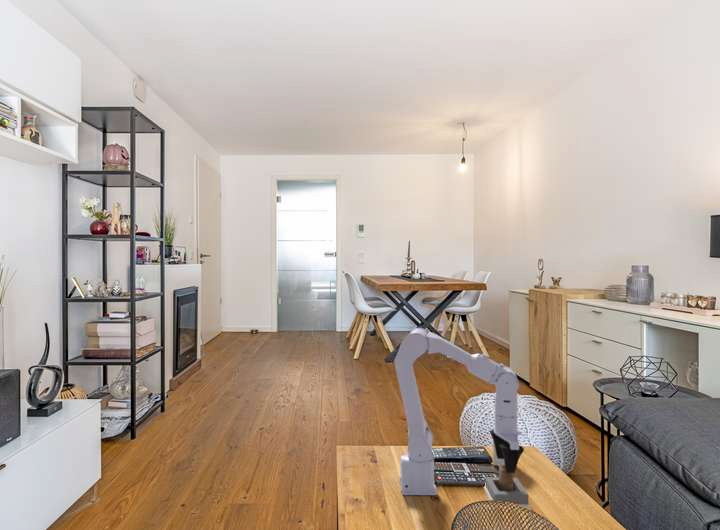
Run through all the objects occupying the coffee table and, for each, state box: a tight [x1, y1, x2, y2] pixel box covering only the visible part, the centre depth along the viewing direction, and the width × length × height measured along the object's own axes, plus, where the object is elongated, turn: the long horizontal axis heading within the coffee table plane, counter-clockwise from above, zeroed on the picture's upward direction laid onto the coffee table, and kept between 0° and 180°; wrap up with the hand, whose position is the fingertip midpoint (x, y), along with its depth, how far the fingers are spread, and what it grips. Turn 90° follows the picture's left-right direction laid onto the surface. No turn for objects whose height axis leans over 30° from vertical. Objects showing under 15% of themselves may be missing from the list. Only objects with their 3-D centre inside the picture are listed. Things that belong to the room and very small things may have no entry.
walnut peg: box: [498, 466, 514, 491], centre depth 113 cm, size 4×4×7 cm
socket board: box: [483, 476, 533, 511], centre depth 113 cm, size 9×12×4 cm
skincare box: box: [492, 427, 505, 467], centre depth 132 cm, size 6×4×12 cm
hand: (505, 465), depth 113 cm, fingers open, 7 cm apart
